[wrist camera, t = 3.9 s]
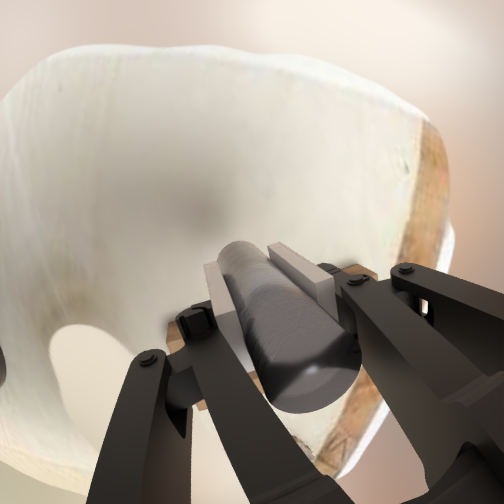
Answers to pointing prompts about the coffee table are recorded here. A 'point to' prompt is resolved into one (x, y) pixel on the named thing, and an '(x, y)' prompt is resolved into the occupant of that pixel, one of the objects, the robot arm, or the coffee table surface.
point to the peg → (288, 333)
